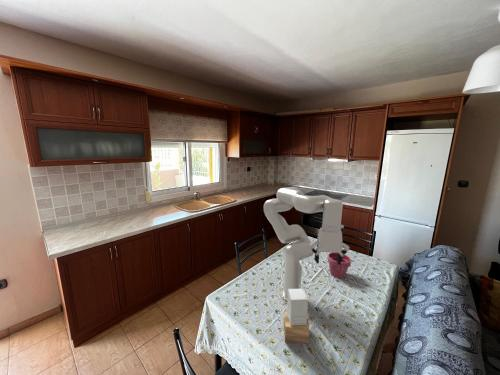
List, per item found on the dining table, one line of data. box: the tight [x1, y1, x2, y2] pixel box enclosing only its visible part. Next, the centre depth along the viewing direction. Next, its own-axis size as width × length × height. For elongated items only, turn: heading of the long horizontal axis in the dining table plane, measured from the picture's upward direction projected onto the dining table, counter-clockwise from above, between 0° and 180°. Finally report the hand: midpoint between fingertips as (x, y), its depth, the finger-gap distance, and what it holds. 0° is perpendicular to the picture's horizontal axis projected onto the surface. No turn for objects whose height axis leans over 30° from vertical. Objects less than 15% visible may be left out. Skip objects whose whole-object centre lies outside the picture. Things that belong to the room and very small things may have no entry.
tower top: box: [284, 309, 310, 339], centre depth 94 cm, size 10×10×4 cm
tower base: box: [283, 316, 310, 346], centre depth 95 cm, size 10×10×4 cm
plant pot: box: [327, 252, 352, 279], centre depth 139 cm, size 14×14×13 cm
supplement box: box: [286, 288, 309, 325], centre depth 92 cm, size 7×7×13 cm
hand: (327, 262), depth 94 cm, fingers open, 9 cm apart
